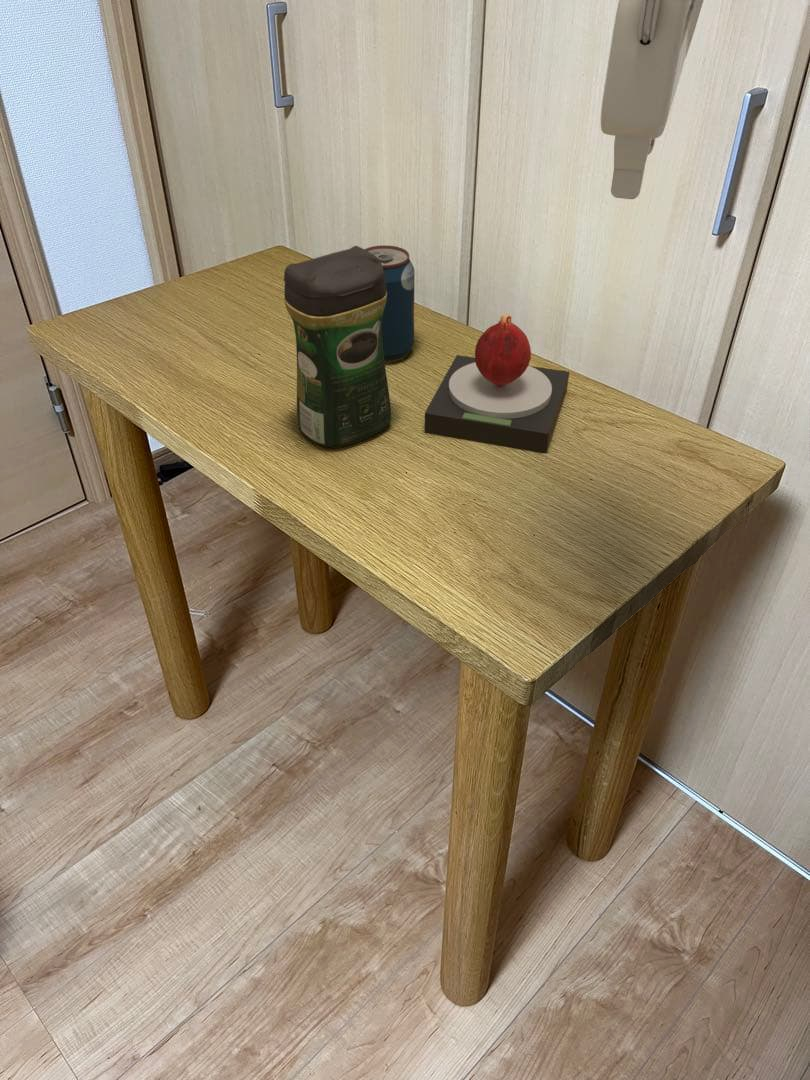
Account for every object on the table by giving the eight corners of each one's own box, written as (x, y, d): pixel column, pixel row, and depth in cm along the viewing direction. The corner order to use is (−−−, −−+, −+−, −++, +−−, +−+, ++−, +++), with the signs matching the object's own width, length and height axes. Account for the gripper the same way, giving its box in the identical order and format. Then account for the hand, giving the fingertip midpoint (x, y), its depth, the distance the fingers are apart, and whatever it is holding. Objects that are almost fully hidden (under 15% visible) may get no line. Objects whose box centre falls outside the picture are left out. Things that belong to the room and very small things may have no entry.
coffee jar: (361, 396, 95) (354, 232, 83) (402, 428, 90) (401, 258, 78) (285, 424, 91) (266, 255, 79) (324, 459, 86) (311, 284, 74)
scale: (566, 390, 96) (570, 365, 94) (546, 453, 87) (549, 426, 84) (455, 373, 99) (456, 348, 97) (424, 432, 90) (424, 406, 87)
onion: (529, 400, 88) (537, 329, 83) (474, 399, 88) (478, 329, 83) (524, 372, 93) (531, 303, 87) (472, 371, 93) (476, 303, 88)
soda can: (425, 351, 103) (427, 254, 95) (385, 371, 99) (384, 273, 91) (385, 332, 107) (383, 238, 99) (345, 352, 103) (340, 255, 95)
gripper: (728, -56, 40) (669, 232, 49) (735, -92, 55) (689, 135, 64) (595, -61, 42) (561, 220, 51) (637, -95, 57) (605, 128, 66)
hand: (632, 172), depth 58 cm, fingers open, 8 cm apart
